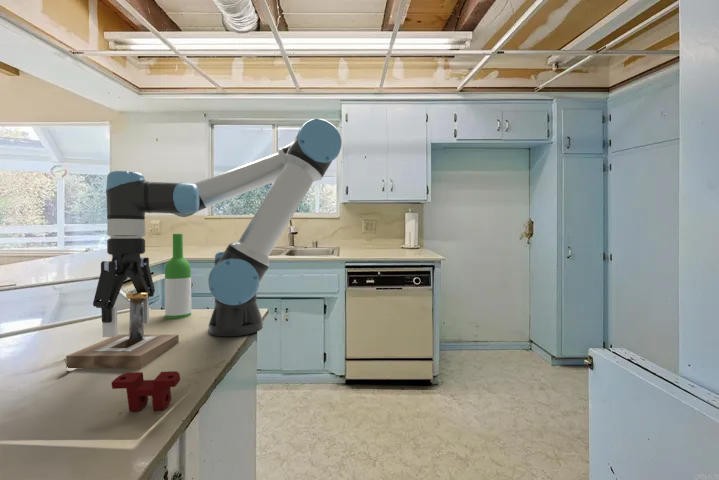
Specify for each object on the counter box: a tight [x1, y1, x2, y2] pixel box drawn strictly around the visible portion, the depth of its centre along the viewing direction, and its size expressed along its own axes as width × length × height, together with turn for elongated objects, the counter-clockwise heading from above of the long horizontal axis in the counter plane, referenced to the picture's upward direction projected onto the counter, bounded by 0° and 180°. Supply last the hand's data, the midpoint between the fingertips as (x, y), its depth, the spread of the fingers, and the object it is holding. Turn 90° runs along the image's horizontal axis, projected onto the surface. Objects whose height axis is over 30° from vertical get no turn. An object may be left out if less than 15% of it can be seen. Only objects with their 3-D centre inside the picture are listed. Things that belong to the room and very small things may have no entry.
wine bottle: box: [164, 233, 192, 319], centre depth 116 cm, size 8×8×30 cm
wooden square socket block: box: [65, 333, 180, 370], centre depth 83 cm, size 16×16×4 cm
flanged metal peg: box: [125, 291, 148, 340], centre depth 87 cm, size 5×5×11 cm
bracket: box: [110, 370, 181, 412], centre depth 59 cm, size 3×6×10 cm
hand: (127, 329), depth 83 cm, fingers open, 11 cm apart
